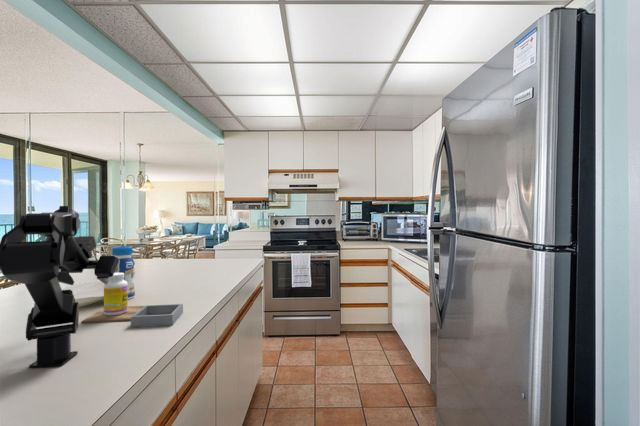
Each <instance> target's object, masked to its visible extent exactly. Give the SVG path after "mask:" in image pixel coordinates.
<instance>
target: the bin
mask: <svg viewBox="0 0 640 426" xmlns="http://www.w3.org/2000/svg"><path fill="white" fill-rule="evenodd" d="M143 306H144V307H143V308H142V309H140V310H139V311H138V312H137V313H135V314H134V315H133V316H131V321H130V328H140V327H157V326H159V327H160V326H174V324H175V323H176V321H177V320H178V319H179V318H180V317H181V316H182V315H183V314H184V304H183V303H170V304H148V305H147V304H146V305H143Z"/></svg>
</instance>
